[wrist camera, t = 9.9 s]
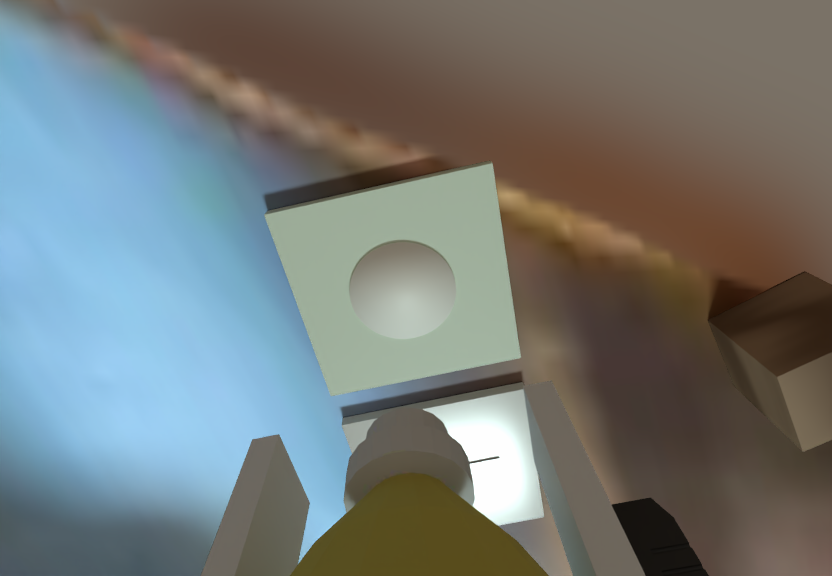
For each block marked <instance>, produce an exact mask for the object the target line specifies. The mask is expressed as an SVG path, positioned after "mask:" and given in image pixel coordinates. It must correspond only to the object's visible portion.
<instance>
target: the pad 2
mask: <svg viewBox="0 0 832 576" xmlns="http://www.w3.org/2000/svg"><path fill="white" fill-rule="evenodd" d="M523 386H524V384H523V382H520V383H515V384H510V385H505V386H500V387H495V388H490V389H485V390H480V391H475V392H470V393H465V394H460V395H455V396H450V397H445V398H440V399H435V400H430V401H425V402H420V403H415V404H410V405H405V406H400V407H395V408H390V409H385V410H380V411H375V412H370V413H365V414H360V415H355V416H350V417H345V418H343V420H342V427H343V430H344V433H345V436H346V438H347V441H348V444H349V446H350V449H351V452H352V454H353V452H354V451H355V449H356V448H357V446H358V445H359V444H360V443H361V442H363V441H364V440H365V439H366V436H367V431H368V429H369V428H370V426H371V425H372V423H373V422H374V421H375V420H376V419H378V418H379V417H380V416H381V415H383V414H385V413H387V412H390V411H392V410H395V409H401V408H416V409H423V410H425V411H427V412H430V413H432V414H434V415H435V416H436V417H438V418H439V419H440V420H441V421H442V422H443V423H444V425H445V427H446V429H447V431H448V434H449V435H450V436H451V437H452V438H454V439H455V440H456V441H457V442H458V443H460V444H461V445H462V447H463V449H464V451H465V453H466V455H467V456H468V458H469V463H470V468H471V474H472V479H473V484H474V494H475V501H474V504H473V507H474V508H475V509H477V510H478V511H479V512H481V513H482V514H483V515H485V516H486V517H487V518H488V519H490V520H491V521H492V522H494V523H495V524H496V525H497V526H498V525H503V524H509V523H514V522H520V521H525V520H531V519H536V518H541V517H544V513H543V506H542V499H541V493H540V486H539V479H538V472H537V468H536V465H535V462H534V457H533V451H532V444H531V437H530V430H529V423H528V417H527V410H526V403H525V396H524V390H523Z"/></svg>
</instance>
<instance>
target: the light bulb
mask: <svg viewBox="0 0 832 576" xmlns="http://www.w3.org/2000/svg"><path fill="white" fill-rule="evenodd" d="M474 501H475V494H474V484H473V479H472V474H471V468H470V463H469V458H468V456H467V455H466V453H465V451H464V449H463V447H462V445H461V444H460V443H458V442H457V441H456V440H455V439H454V438H452V437H451V436H450V435H449V434H448V431H447V429H446V427H445V425H444V423H443V422H442V421H441V420H440V419H439V418H438V417H436V416H435V415H434V414H432V413H430V412H427V411H425V410H423V409H416V408H401V409H395V410H392V411H390V412H387V413H385V414H383V415H381V416H380V417H379V418H378V419H376V420H375V421H374V422H373V423H372V425H371V426H370V428H369V429H368V431H367V436H366V439H365V440H364V441H363V442H361V443H360V444H359V445H358V446H357V448H356V449H355V451H354V452H353V454H352V455H351V457H350V458H349V463H348V468H347V474H346V483H345V492H344V504H345V508H346V512H347V513H346V514H345V515H344V516H343V517H342V518H341V519H340V520H339V521H338V522H336V523H335V524H334V525H333V526H332V527H331V528H330V529H329V530H328V531H327V532H326V533H325V534H323V535H322V536H321V537H320V538H319V539H318V540H317V541H316V542H315V543H314V544H313V545H312V547H311V548H310V549H309V551H308V552H307V553H306V555H305V556H304V557H303V559H302V560H301V561H300V563H299V564H298V565H297V567H296V568H295V569H294V571H293V572H292V573H291V575H290V576H549V575H548V574H547V573H546V572H545V571H544V570H543V569H542V568H541V567H540V566H539V565H538V563H537V562H536V561H535V560H534V559H533V558H532V557H531V556H530V555H529V554H528V552H527V551H526V550H525V549H524V548H523V547H522V546H521V545H520V544H519V543H518V542H517V541H516V540H515V539H514V538H513V537H511V536H510V535H509V534H508V533H506V532H505V531H504V530H502V529H501V528H500V527H499V526H497V525H496V524H495V523H494V522H492V521H491V520H490V519H488V518H487V517H486V516H485V515H483V514H482V513H481V512H479V511H478V510H477V509H475V508H474V507H473V504H474Z"/></svg>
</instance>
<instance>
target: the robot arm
mask: <svg viewBox="0 0 832 576" xmlns="http://www.w3.org/2000/svg"><path fill="white" fill-rule="evenodd" d="M523 390H524V396H525V403H526V410H527V417H528V423H529V430H530V437H531V444H532V451H533V457H534V462H535V465H536V468H537V471H538V474H539V477H540V480H541V483H542V486H543V489H544V491H545V494H546V497H547V500H548V503H549V506H550V509H551V512H552V515H553V518H554V521H555V524H556V527H557V529H558V532H559V535H560V538H561V541H562V544H563V547H564V550H565V553H566V556H567V559H568V562H569V565H570V567H571V570H572V573H573V576H709V575H708V574H707V572H706V570H704V569H703V567H702V564H701V562H700V560H699V559H698V557H697V555H696V554H695V552H694V551H693V549H692V548H691V547H690V546H689V542H688V541H687V539H686V537H685V536H684V534H683V532H682V531H681V529H680V527H679V526H678V524H677V522H676V521H675V519H674V517H672V516H671V515H670V514H669V513H668V512H667V511H665V510H664V509H663V508H662V507H661V506H660V505H658V504H657V503H656V502H655V501H654V500H653V499H651V498H646V499H640V500H635V501H629V502H624V503H618V504H612V505H611V503H610V501H609V499H608V497H607V495H606V493H605V491H604V488H603V486H602V484H601V482H600V480H599V478H598V476H597V474H596V472H595V470H594V468H593V466H592V464H591V462H590V459H589V457H588V455H587V453H586V451H585V449H584V447H583V445H582V443H581V441H580V439H579V437H578V435H577V433H576V430H575V428H574V426H573V424H572V422H571V420H570V418H569V416H568V414H567V412H566V410H565V408H564V406H563V403H562V401H561V399H560V397H559V395H558V393H557V391H556V389H555V387H554V385H553V383H552V381H547V382H542V383H537V384H532V385H527V386H523ZM309 504H310V502H309V500H308V498H307V496H306V493H305V491H304V489H303V487H302V484H301V482H300V480H299V478H298V476H297V473H296V471H295V469H294V467H293V464H292V462H291V460H290V458H289V455H288V453H287V451H286V449H285V447H284V444H283V442H282V440H281V438H280V435H279V434H278V435H273V436H268V437H263V438H258V439H253V440H252V442H251V445H250V447H249V450H248V453H247V455H246V458H245V461H244V463H243V466H242V468H241V471H240V474H239V476H238V479H237V482H236V484H235V487H234V489H233V492H232V495H231V497H230V500H229V503H228V505H227V508H226V511H225V513H224V516H223V518H222V521H221V524H220V526H219V529H218V532H217V534H216V537H215V540H214V542H213V545H212V547H211V550H210V553H209V555H208V558H207V561H206V563H205V566H204V569H203V571H202V574H201V576H290V575H291V573H292V572H293V571H294V569H295V568H296V567H297V565H298V560H299V555H300V550H301V545H302V540H303V535H304V530H305V525H306V520H307V514H308V509H309Z"/></svg>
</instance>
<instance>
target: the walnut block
mask: <svg viewBox="0 0 832 576" xmlns="http://www.w3.org/2000/svg"><path fill="white" fill-rule="evenodd" d="M708 322H709V325H710V327H711V330H712V332H713V335H714V337H715V340H716V342H717V345H718V347H719V350H720V352H721V355H722V357H723V360H724V362H725V365H726V367H727V370H728V372H729V375H730V377H731V380H732V382H733V385H734V387H735V388H736V389H737V390H738V391H740V392H741V393H742V394H743V395H744V396H745V397H746V398H747V399H748V400H749V401H750V402H751V403H752V404H753V405H754V406H755V407H756V408H757V409H758V410H759V411H761V412H762V413H763V414H764V415H765V416H766V417H767V418H768V419H769V420H770V421H771V422H772V423H773V424H774V425H775V426H776V427H777V428H778V429H779V430H781V431H782V432H783V433H784V434H785V435H786V436H787V437H788V438H789V439H790V440H791V441H792V442H793V443H794V444H795V445H796V446H797V447H798V448H799V449H800V450H802V451H803V452H804V451H806V450H809V449H811V448H813V447H816V446H818V445H820V444H823V443H825V442H827V441H830V440H832V285H831V284H829V283H827V282H825V281H823V280H821V279H819V278H817V277H815V276H813V275H811V274H809V273H807V272H805V271H804V272H802V273H800V274H798V275H796V276H794V277H792V278H790V279H788V280H786V281H783V282H781V283H780V284H777V285H775V286H773V287H771V288H769V289H767V291H766V292H764V293H762V294H760V295H758V296H756V297H754V298H752V299H750V300H748V301H745V302H743V303H741V304H739V305H737V306H735V307H733V308H731V309H729V310H727V311H725V312H723V313H721V314H719V315H717V316H715V317H713V318H711V319H709V320H708Z"/></svg>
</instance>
